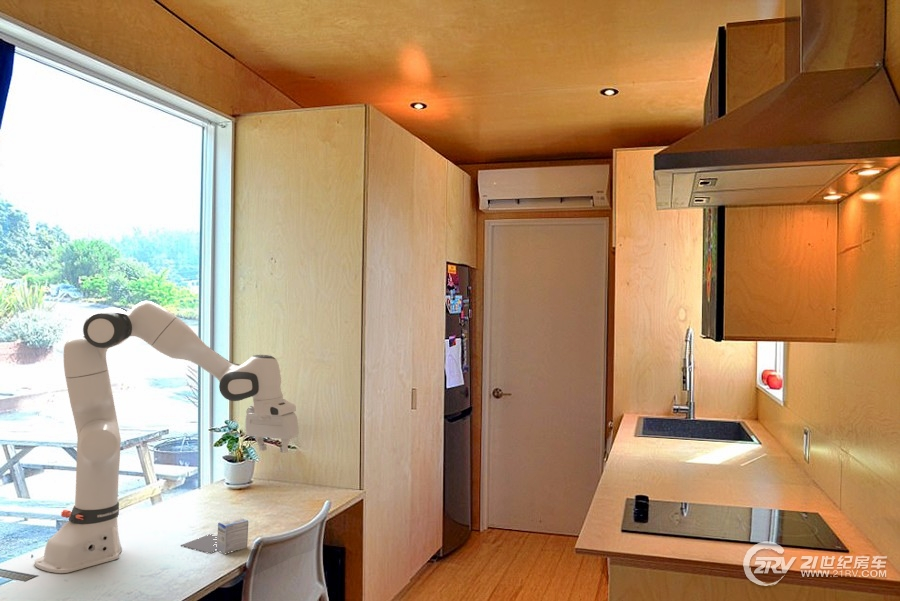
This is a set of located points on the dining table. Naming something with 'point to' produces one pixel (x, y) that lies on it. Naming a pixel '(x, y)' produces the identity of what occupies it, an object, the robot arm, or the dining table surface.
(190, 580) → the dining table surface
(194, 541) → the mat
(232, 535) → the medicine box
